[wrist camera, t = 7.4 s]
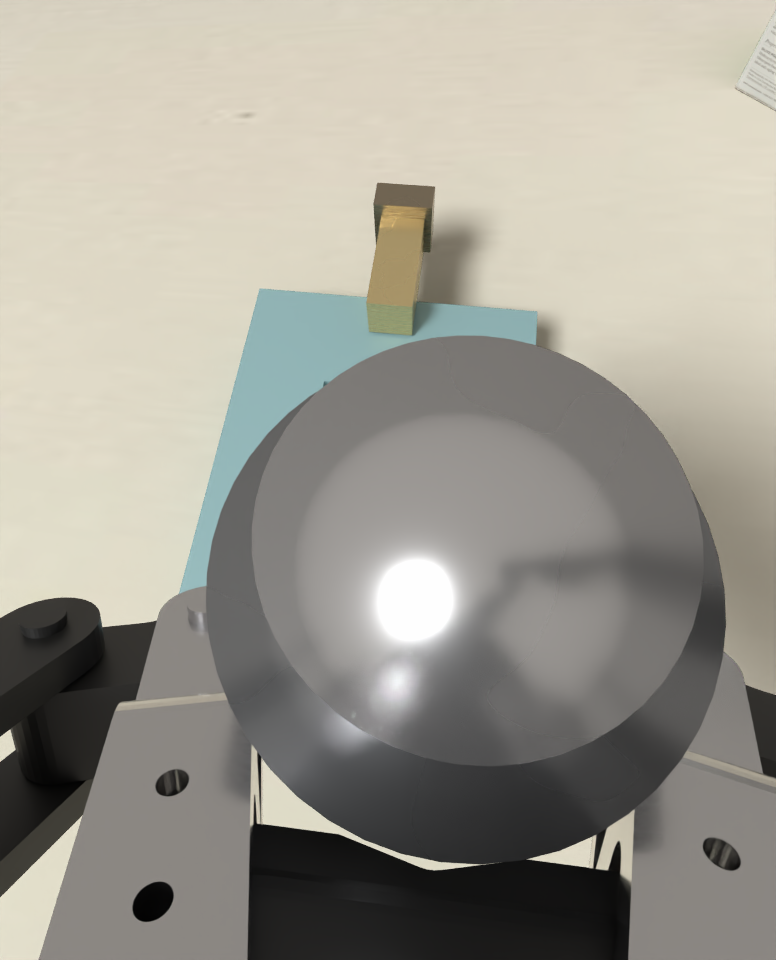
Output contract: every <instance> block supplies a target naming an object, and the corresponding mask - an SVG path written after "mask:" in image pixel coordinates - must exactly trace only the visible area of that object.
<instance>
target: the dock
mask: <svg viewBox="0 0 776 960" xmlns="http://www.w3.org/2000/svg"><path fill="white" fill-rule="evenodd" d="M366 301H367V297H356V296H344V295H332V294H320V293H307V292H295V291H283V290H271V289H260V290H259V293H258V297H257V301H256V305H255V308H254V312H253V316H252V320H251V324H250V327H249V331H248V335H247V339H246V343H245V346H244V350H243V354H242V358H241V361H240V365H239V369H238V373H237V377H236V380H235V384H234V388H233V392H232V395H231V399H230V403H229V407H228V411H227V414H226V418H225V422H224V426H223V429H222V433H221V437H220V441H219V445H218V448H217V452H216V456H215V460H214V463H213V467H212V471H211V475H210V479H209V482H208V486H207V490H206V494H205V497H204V501H203V505H202V509H201V513H200V516H199V520H198V524H197V528H196V531H195V535H194V539H193V543H192V547H191V550H190V554H189V558H188V562H187V565H186V569H185V573H184V577H183V581H182V584H181V588H180V592H179V594H180V593H182V592H185V591H187V590H190V589H194V588H198V587H203V586H206V582H207V568H208V562H209V556H210V550H211V544H212V539H213V536H214V533H215V529H216V526H217V523H218V519H219V516H220V513H221V510H222V508H223V505H224V503H225V501H226V499H227V496H228V494H229V492H230V490H231V487H232V485H233V483H234V481H235V480H236V478H237V476H238V475H239V473H240V471H241V470H242V468H243V466H244V465H245V463H246V461H247V460H248V458H249V457H250V455H251V454H252V453H253V451H254V450H255V449H256V448H257V446H258V445H259V444H260V443H261V441H262V440H263V439H264V437H265V436H266V435H267V434H268V433H269V432H270V431H271V430H272V429H273V428H274V427H275V426H276V425H277V424H278V423H279V422H280V421H281V420H282V419H283V418H284V417H285V416H286V415H287V414H288V413H289V412H290V411H292V410H293V409H294V408H295V407H297V406H298V405H299V404H300V403H302V402H303V401H304V400H306V399H307V398H308V397H309V396H311V395H312V394H314V393H316V392H317V391H319V390H320V389H321V388H323V387H324V386H325V385H326V384H328V383H329V382H330V381H332V380H333V379H334V378H335V377H337V376H338V375H339V374H341V373H343V372H344V371H346V370H347V369H349V368H351V367H352V366H354V365H356V364H357V363H359V362H361V361H363V360H365V359H367V358H369V357H371V356H374V355H376V354H378V353H380V352H382V351H385V350H388V349H391V348H394V347H397V346H400V345H403V344H406V343H410V342H415V341H420V340H425V339H429V338H436V337H447V336H457V335H461V336H489V337H498V338H506V339H512V340H516V341H520V342H525V343H529V344H533V345H536V331H537V312H536V311H524V310H512V309H500V308H488V307H476V306H464V305H452V304H440V303H428V302H416V310H415V317H414V324H413V332H412V335H401V334H389V333H378V332H369V327H368V316H367V306H366Z"/></svg>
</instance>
